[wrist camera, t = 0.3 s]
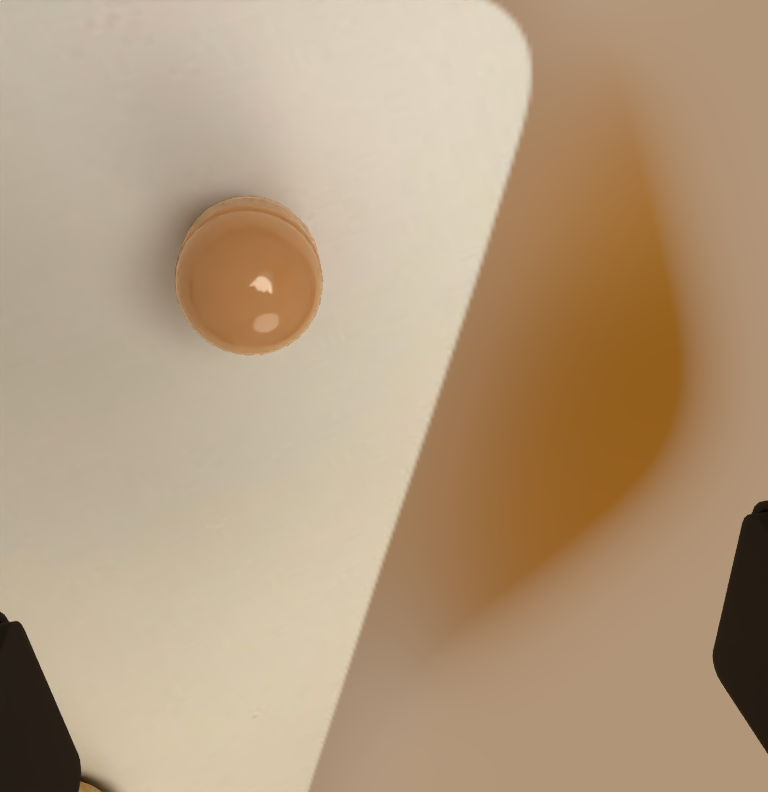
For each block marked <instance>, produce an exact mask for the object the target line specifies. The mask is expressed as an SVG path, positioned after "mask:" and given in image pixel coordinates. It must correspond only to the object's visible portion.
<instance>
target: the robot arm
mask: <svg viewBox="0 0 768 792" xmlns="http://www.w3.org/2000/svg"><path fill="white" fill-rule="evenodd" d="M713 663H714V667H715V671H716V673H717V676H718V678H719V679H720V681H721V683H722V684H723V686H724V688H725V689H726V691H727V692H728V694H729V695H730V697H731V698H732V700H733V701H734V703H735V704H736V706H737V707H738V709H739V711H740V712H741V714H742V715H743V716H744V718H745V720H746V721H747V723H748V724H749V726H750V727H751V729H752V730H753V732H754V733H755V735H756V736H757V738H758V740H759V741H760V743H761V744H762V746H763V747H764V748H765V750H766V752H767V753H768V501H763V502H759V503H758V504H757V505H756V506H755V507H754V509H753V512H752V514H750V515H747V516H746V517H745V518H744V520H743V523H742V527H741V531H740V535H739V540H738V544H737V549H736V553H735V557H734V562H733V566H732V571H731V575H730V579H729V584H728V588H727V593H726V597H725V602H724V606H723V610H722V614H721V619H720V623H719V627H718V632H717V636H716V641H715V645H714V649H713ZM80 781H81V765H80V759H79V755H78V753H77V750H76V748H75V746H74V743H73V741H72V739H71V736H70V734H69V732H68V730H67V727H66V725H65V723H64V720H63V718H62V716H61V713H60V711H59V709H58V706H57V704H56V702H55V699H54V697H53V695H52V692H51V690H50V688H49V686H48V683H47V681H46V679H45V676H44V674H43V672H42V669H41V667H40V665H39V662H38V660H37V658H36V655H35V653H34V651H33V648H32V646H31V644H30V641H29V639H28V637H27V635H26V632H25V630H24V628H23V626H22V624H21V623H19V622H18V621H13V622H9V621H8V619H7V618H6V616H5V615H4V614H3V613H1V612H0V792H79V787H80Z"/></svg>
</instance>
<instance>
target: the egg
mask: <svg viewBox="0 0 768 792" xmlns="http://www.w3.org/2000/svg"><path fill="white" fill-rule="evenodd" d="M322 286H323V279H322V270H321V265H320V260H319V255H318V251H317V247H316V244H315V242H314V239H313V238H312V236H311V234H310V232H309V230H308V229H307V227H306V226H305V225H304V223H303V222H302V221H301V219H300V218H299V217H297V216H296V215H295V214H294V213H293V212H292V211H291V210H289V209H288V208H286V207H284V206H283V205H281V204H279V203H277V202H274V201H272V200H269V199H266V198H261V197H254V196H243V197H234V198H230V199H226V200H223V201H221V202H219V203H217V204H215V205H213V206H211V207H210V208H209V209H207V210H206V211H205V212H203V213H202V214H201V215H200V216H199V218H198V219H197V220H196V221H195V222H194V223H193V225H192V226H191V227H190V229H189V231H188V233H187V234H186V237H185V239H184V242H183V244H182V247H181V250H180V253H179V256H178V260H177V264H176V271H175V289H176V295H177V300H178V303H179V305H180V308H181V310H182V313H183V314H184V316H185V317H186V319H187V320H188V322H189V324H190V325H191V327H192V328H193V329H194V330H195V331H196V332H197V333H198V334H199V335H200V336H201V337H202V338H203V339H205V340H206V341H207V342H209V343H210V344H211V345H213V346H215V347H217V348H220V349H222V350H224V351H227V352H231V353H234V354H240V355H263V354H267V353H271V352H275V351H277V350H279V349H282V348H284V347H286V346H288V345H289V344H291V343H292V342H293V341H295V340H296V339H298V338H299V336H300V335H301V334H302V333H303V332H304V331H305V330H306V329H307V328H308V327H309V325H310V324H311V322H312V320H313V319H314V317H315V316H316V313H317V310H318V308H319V305H320V301H321V294H322Z"/></svg>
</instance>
